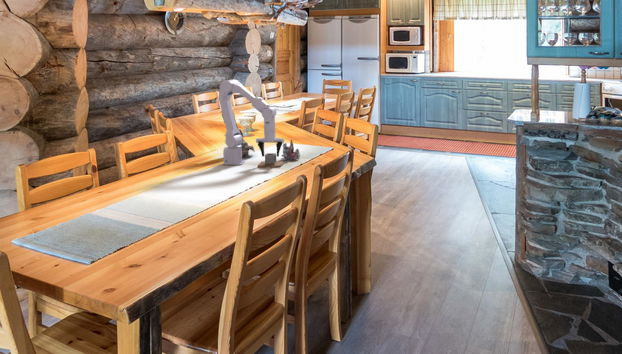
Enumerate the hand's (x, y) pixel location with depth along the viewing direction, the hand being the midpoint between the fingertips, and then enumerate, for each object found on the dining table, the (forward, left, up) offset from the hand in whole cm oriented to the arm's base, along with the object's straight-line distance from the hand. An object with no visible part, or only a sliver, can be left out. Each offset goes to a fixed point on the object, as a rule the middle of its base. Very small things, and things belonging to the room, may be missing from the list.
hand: (270, 156), depth 295 cm
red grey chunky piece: (+8, +17, -5) cm, 19 cm away
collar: (0, 0, -4) cm, 4 cm away
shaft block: (0, 0, -5) cm, 5 cm away
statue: (-23, +24, -5) cm, 34 cm away
